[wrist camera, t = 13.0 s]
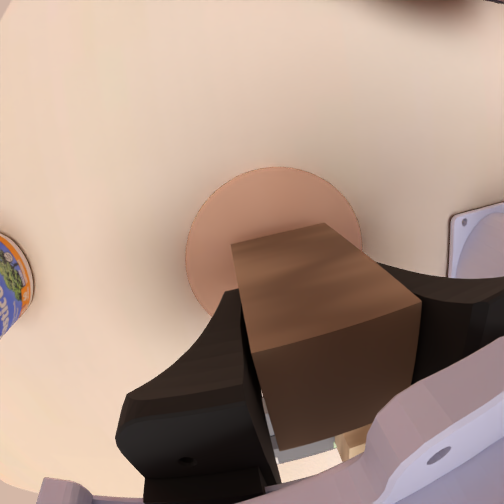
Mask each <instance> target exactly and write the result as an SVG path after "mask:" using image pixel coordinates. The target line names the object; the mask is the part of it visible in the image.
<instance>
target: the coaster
mask: <svg viewBox="0 0 504 504" xmlns="http://www.w3.org/2000/svg"><path fill="white" fill-rule="evenodd" d="M324 222H325V223H326V224H327V225H328V226H330V227H331V228H332V229H334V230H335V231H336V232H338V233H339V234H340V235H342V236H343V237H344V238H345V239H347V240H348V241H349V242H351V243H352V244H353V245H354V246H356V247H357V248H358V249H360V250H361V251H362V238H361V232H360V227H359V224H358V220H357V218H356V216H355V213H354V211H353V209H352V208H351V206H350V204H349V203H348V201H347V200H346V199H345V197H344V196H343V195H342V194H341V193H340V192H339V191H338V190H337V189H336V188H335V187H334V186H332V185H331V184H330V183H328V182H327V181H325V180H324V179H322V178H320V177H318V176H316V175H314V174H311V173H309V172H305V171H302V170H298V169H294V168H286V167H270V168H262V169H257V170H254V171H250V172H247V173H245V174H242V175H240V176H238V177H235V178H234V179H232V180H230V181H229V182H227V183H225V184H224V185H223V186H221V187H220V188H219V189H218V190H217V191H215V192H214V193H213V194H212V195H211V196H210V197H209V199H208V200H207V201H206V202H205V203H204V205H203V206H202V207H201V209H200V210H199V212H198V214H197V216H196V218H195V219H194V221H193V224H192V226H191V229H190V232H189V235H188V240H187V245H186V257H185V261H186V272H187V276H188V280H189V283H190V286H191V288H192V291H193V293H194V295H195V296H196V298H197V300H198V302H199V303H200V304H201V305H202V307H203V308H204V309H205V310H206V311H207V312H208V313H209V314H210V315H211V316H212V317H213V315H214V313H215V311H216V309H217V307H218V305H219V303H220V301H221V298H222V296H223V294H224V292H225V291H229V290H233V289H237V288H239V287H238V282H237V277H236V271H235V266H234V260H233V255H232V250H231V244H234V243H238V242H242V241H247V240H251V239H255V238H259V237H264V236H268V235H272V234H276V233H281V232H285V231H289V230H294V229H298V228H302V227H307V226H311V225H315V224H320V223H324Z"/></svg>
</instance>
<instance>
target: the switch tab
mask: <svg viewBox="0 0 504 504" xmlns="http://www.w3.org/2000/svg"><path fill="white" fill-rule="evenodd" d="M371 425H372V423H371V424H368V425H366V426H363V427H360V428H358V429H355V430H352V431H349V432H346V433H343V434H340V435H337V436H335V444H336V446H337V449H338V451H339V454H340V456H341V459H342V461H343V462H345V461H347V460H349V459H351V458H352V457H354V456H356V455H358V454H360V453H362V452H364V450H365V445H366V437H367V433H368V431H369V429H370V427H371Z"/></svg>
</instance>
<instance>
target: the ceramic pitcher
mask: <svg viewBox="0 0 504 504" xmlns="http://www.w3.org/2000/svg"><path fill="white" fill-rule="evenodd" d="M485 1H491V2H495V3H501V4H504V0H485Z"/></svg>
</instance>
